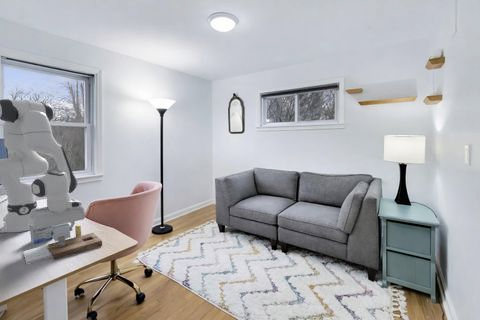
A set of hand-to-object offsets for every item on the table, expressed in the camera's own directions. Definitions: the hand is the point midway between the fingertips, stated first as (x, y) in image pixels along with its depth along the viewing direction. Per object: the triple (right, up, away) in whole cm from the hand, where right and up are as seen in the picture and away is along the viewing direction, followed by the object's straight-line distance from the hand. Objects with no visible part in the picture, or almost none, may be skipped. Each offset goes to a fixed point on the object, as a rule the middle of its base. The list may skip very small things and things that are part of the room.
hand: (61, 232), depth 116 cm
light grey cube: (0, -2, 0) cm, 2 cm away
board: (+11, -5, -5) cm, 13 cm away
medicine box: (-11, -4, +2) cm, 12 cm away
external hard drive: (-1, -7, -12) cm, 14 cm away
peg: (+4, -4, +6) cm, 8 cm away
